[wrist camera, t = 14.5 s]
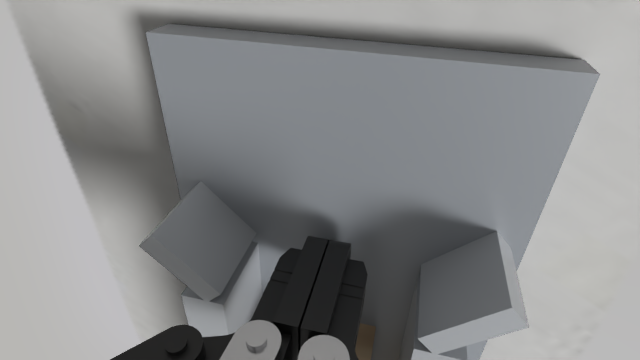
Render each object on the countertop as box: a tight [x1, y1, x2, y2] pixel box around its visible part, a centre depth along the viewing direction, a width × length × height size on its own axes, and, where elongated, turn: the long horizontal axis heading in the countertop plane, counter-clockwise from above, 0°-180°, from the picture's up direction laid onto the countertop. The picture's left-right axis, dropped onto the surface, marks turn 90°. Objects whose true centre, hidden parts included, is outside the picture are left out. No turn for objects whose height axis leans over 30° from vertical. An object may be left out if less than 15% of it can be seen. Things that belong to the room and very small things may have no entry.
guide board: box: [139, 24, 600, 360], centre depth 15 cm, size 21×12×4 cm, turn 179°
